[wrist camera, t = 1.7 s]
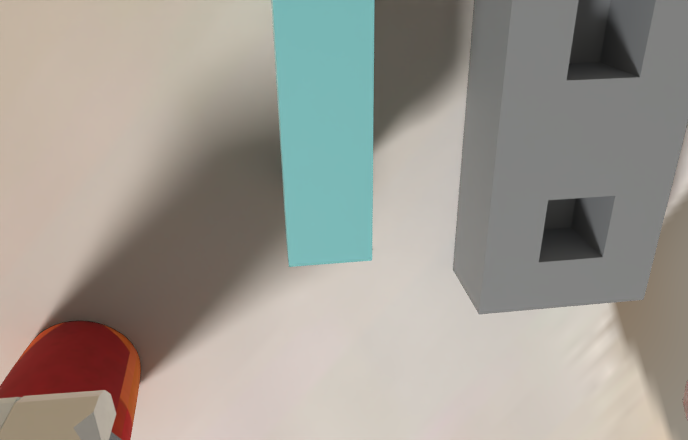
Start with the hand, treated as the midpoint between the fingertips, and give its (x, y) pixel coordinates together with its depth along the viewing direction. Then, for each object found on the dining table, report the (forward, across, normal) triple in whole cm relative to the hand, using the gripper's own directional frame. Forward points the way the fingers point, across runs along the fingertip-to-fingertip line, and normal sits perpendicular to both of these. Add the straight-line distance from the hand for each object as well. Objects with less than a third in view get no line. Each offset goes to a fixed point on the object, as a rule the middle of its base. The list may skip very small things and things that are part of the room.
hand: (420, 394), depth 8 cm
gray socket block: (+19, -11, +2) cm, 22 cm away
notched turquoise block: (+19, 0, 0) cm, 19 cm away
